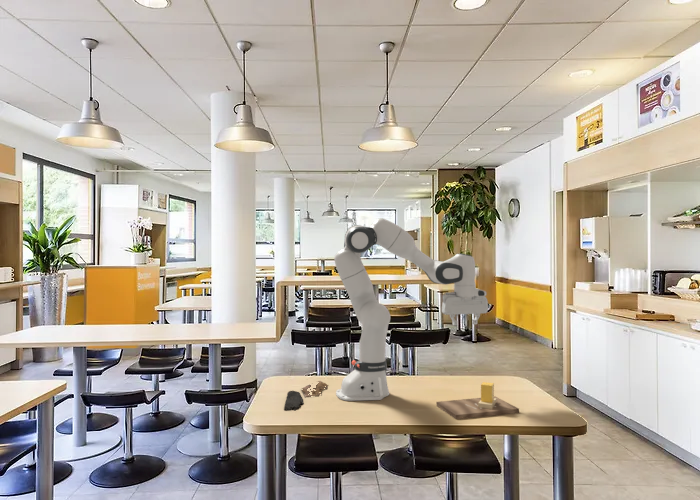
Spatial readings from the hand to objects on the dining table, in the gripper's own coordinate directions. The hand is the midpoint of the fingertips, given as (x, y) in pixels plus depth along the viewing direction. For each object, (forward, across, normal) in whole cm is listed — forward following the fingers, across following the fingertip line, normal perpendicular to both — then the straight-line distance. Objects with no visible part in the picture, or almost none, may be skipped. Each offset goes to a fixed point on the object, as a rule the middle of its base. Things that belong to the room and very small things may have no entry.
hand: (464, 324), depth 209 cm
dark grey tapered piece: (+30, -72, +8) cm, 78 cm away
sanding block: (+28, -2, -21) cm, 35 cm away
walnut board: (+29, -6, -20) cm, 36 cm away
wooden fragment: (+30, -60, +24) cm, 71 cm away
